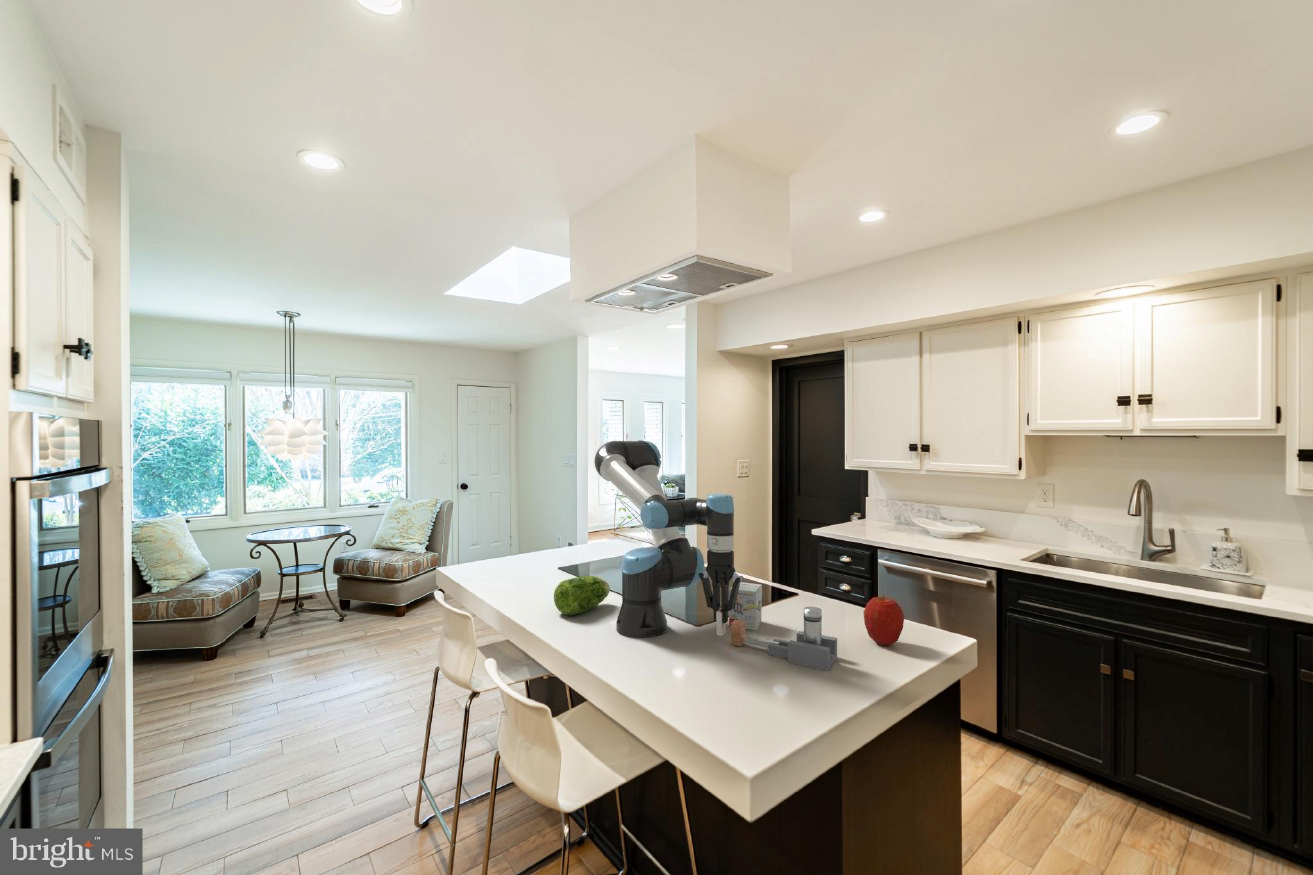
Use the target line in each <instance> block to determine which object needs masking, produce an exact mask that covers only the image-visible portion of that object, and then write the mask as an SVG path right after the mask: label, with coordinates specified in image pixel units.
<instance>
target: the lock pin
mask: <svg viewBox="0 0 1313 875" xmlns="http://www.w3.org/2000/svg"><path fill="white" fill-rule="evenodd" d="M770 643H771V644H776V645H780V642H777V641H773V640H771V639H765V638H760V637H755V636H751V635H750V636H749V635H746V629H745V621H740V620H734V621H733V622H731V627H730V645H732V646H737V647H743V646H744V645H745V644H746V645H749V646H750V645H751V646H755V647H760V648H765V649H768V644H770Z"/></svg>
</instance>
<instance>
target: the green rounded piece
mask: <svg viewBox="0 0 1313 875" xmlns="http://www.w3.org/2000/svg"><path fill="white" fill-rule="evenodd" d="M610 589H611V587H610V585H609V583H608V582H607V581H606V579H602V578H601V577H598V576H595V575H585V576H579V577H578V576H577V577H572V578H568V579H565V580H562V581H560V582H559V584H557V586H556V588H554V592H553V602H554V605H555V607H556V609H557V611H558V612H560V613H561V614H562V615H565V616H574V615H578V614H582V613H584V612H586V611H589V610H591V609H593V608H595V607H596V606H598V605H600V604H601V603H603V601H604V600H605V599H606V598H607V597H608V596H609V594H610V591H611V590H610Z"/></svg>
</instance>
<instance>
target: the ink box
mask: <svg viewBox="0 0 1313 875" xmlns="http://www.w3.org/2000/svg"><path fill="white" fill-rule="evenodd" d="M731 589H732V585H731V586H730V587H729V598H730V594H731ZM762 595H763V585H762V584H758V583H752V582H751V583H750V582H744V581H742V582H741V583H740V586H739V590H738V595H737V599H736V604H735V608H734V609H732V610H731V611H728V627H730V628H731V622H733V621H734V620H740V621H745V630H753V631H756V630H757V629H758V628H759V627H760V624H761V623H762V618H763V617H762V614H763V613H762V607H763V605H762V603H763V600H762V598H763V596H762Z"/></svg>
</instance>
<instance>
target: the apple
mask: <svg viewBox="0 0 1313 875" xmlns="http://www.w3.org/2000/svg"><path fill="white" fill-rule="evenodd" d="M862 613H863V621H864V626H865V629H866V631H867V634H868V636H869V638H870V639H872V641H874V642H875V643H876V644H877V645H882V646H886V647H887V646H888V647H889V646H893V644H895V643H897V642H899V638H900V636H901V634H902V631H903V629H904V622H905V614H904V612H903V609H902V607H901V606H900V605H899V603H898V602H897V601H896V600H893V599H891V598H889V597H886V596H885V594H884V593H882V596H876V597H872V598H871V599H870V600H869V601H868V602H867V603H866V605H865V608H864V610H863V612H862Z"/></svg>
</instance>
